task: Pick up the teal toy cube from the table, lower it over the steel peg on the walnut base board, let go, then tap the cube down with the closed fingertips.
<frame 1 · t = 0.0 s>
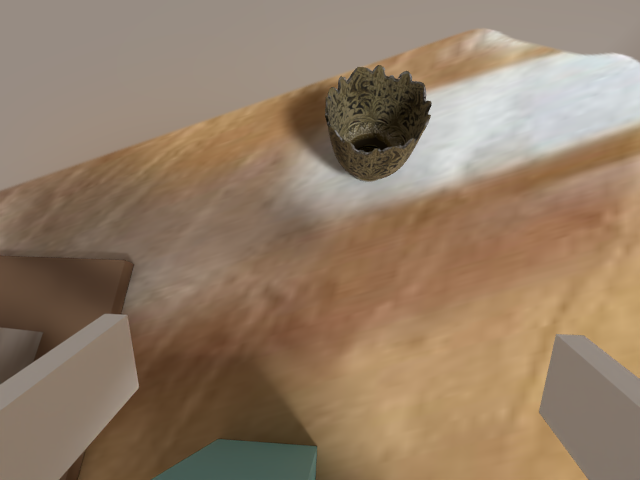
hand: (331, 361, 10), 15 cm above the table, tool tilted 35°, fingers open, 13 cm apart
peg base: (23, 358, 26), on the table
cup: (368, 168, 31), on the table
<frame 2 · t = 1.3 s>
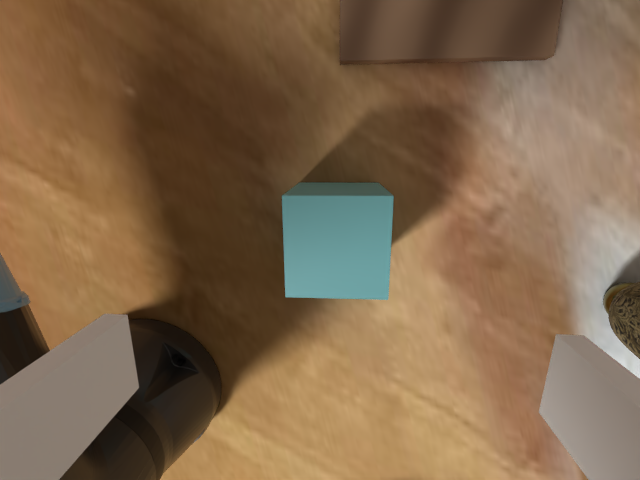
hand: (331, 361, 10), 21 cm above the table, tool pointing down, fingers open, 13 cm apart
teal toy cube: (338, 221, 30), on the table
cup: (618, 296, 31), on the table
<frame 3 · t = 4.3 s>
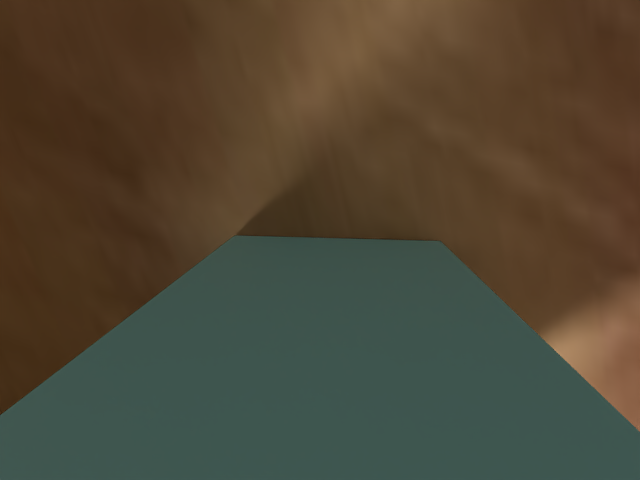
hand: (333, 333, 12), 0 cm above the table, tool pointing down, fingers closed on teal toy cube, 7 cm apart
teal toy cube: (333, 329, 12), on the table, touching gripper
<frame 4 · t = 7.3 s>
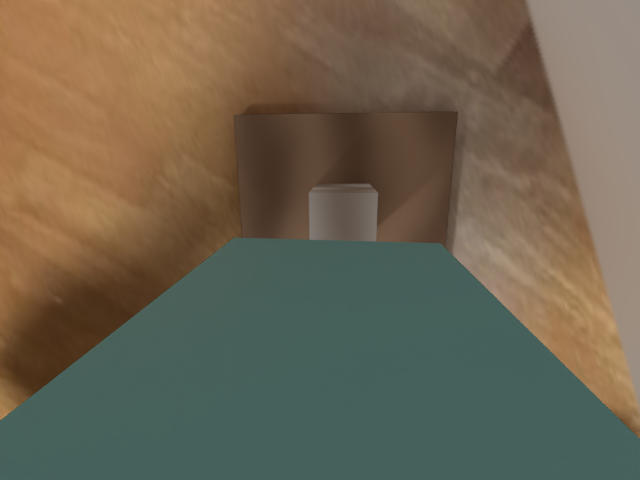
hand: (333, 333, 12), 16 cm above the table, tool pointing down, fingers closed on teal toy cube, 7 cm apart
teal toy cube: (333, 332, 12), point 16 cm above the table, touching gripper
peg base: (342, 207, 27), on the table
when the fingers open (4 cm above the table, at t = 10.3 s): teal toy cube drops 3 cm, resting on peg base.
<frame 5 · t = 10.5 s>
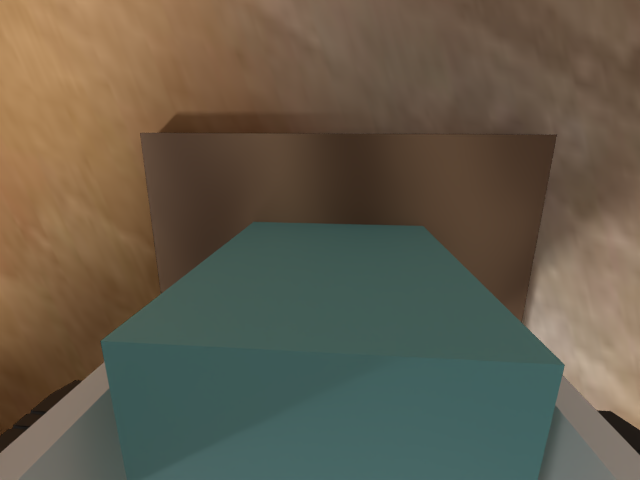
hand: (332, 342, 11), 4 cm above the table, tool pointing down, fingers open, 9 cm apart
teal toy cube: (335, 301, 15), point 1 cm above the table, touching peg base
peg base: (336, 289, 16), on the table
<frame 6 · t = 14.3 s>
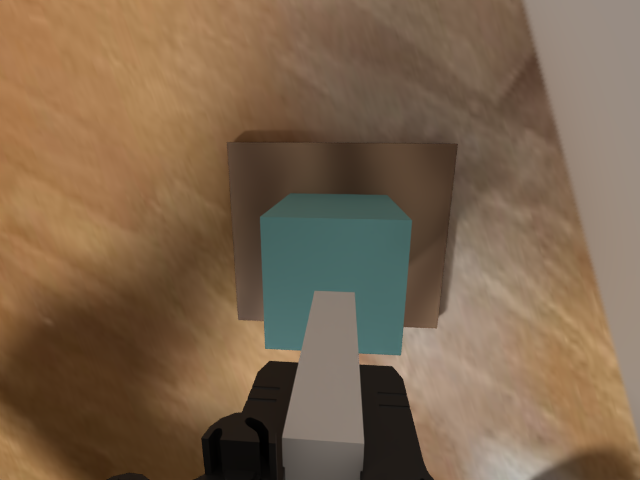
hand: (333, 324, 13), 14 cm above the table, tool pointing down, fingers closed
teal toy cube: (337, 240, 25), point 1 cm above the table, touching peg base
peg base: (337, 236, 26), on the table
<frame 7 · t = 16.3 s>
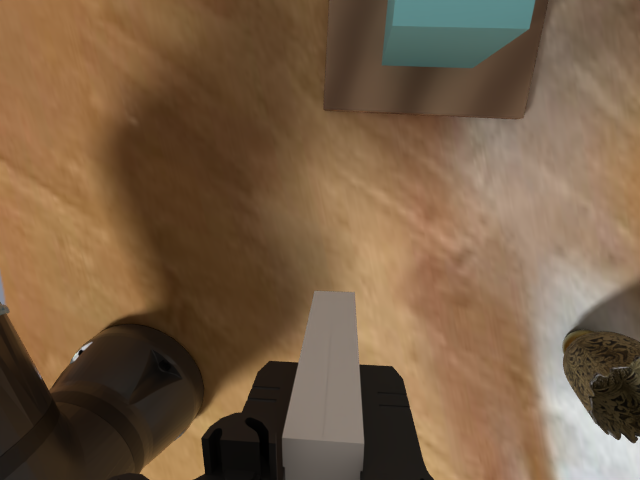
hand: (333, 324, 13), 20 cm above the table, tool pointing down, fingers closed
teal toy cube: (433, 15, 25), point 1 cm above the table, touching peg base
peg base: (430, 20, 26), on the table
cup: (578, 341, 32), on the table
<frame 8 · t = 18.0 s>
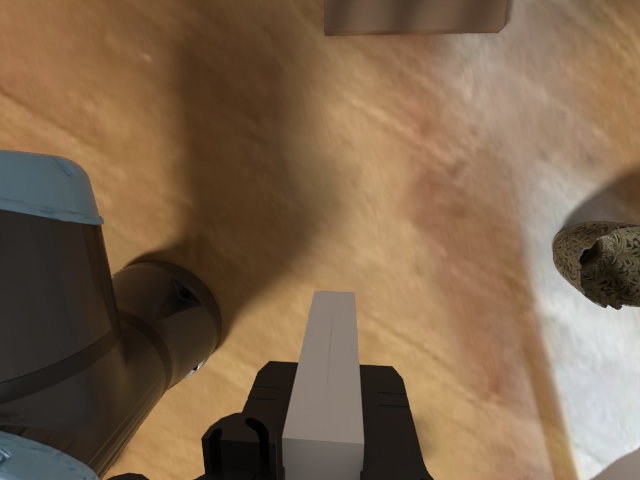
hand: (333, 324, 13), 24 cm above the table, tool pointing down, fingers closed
cup: (565, 242, 35), on the table
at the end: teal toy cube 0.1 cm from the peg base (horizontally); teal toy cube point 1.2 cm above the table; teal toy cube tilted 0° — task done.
